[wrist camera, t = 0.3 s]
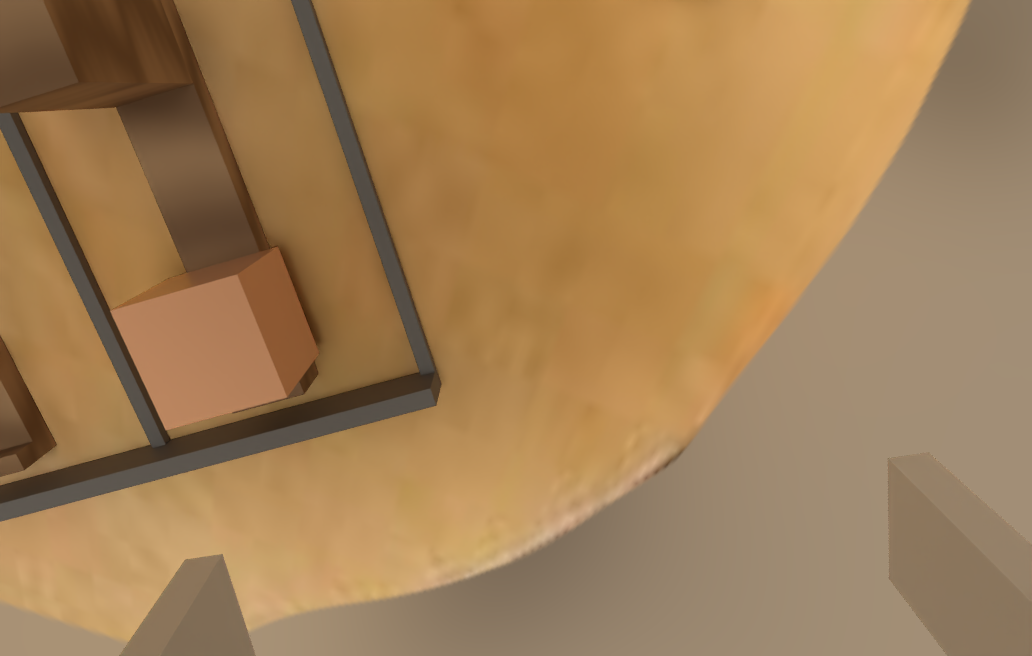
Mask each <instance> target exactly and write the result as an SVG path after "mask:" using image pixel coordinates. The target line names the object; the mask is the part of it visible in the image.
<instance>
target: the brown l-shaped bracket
mask: <svg viewBox="0 0 1032 656" xmlns="http://www.w3.org/2000/svg"><path fill="white" fill-rule="evenodd" d="M55 446H56V443H55V441H54V439H53V437H52V435H51V433H50V431H49V429H48V428H47V426H46V424H45V422H44V420H43V418H42V416H41V414H40V412H39V410H38V408H37V406H36V404H35V402H34V401H33V399H32V397H31V395H30V393H29V391H28V389H27V387H26V385H25V383H24V381H23V379H22V377H21V375H20V374H19V372H18V370H17V368H16V366H15V364H14V362H13V360H12V358H11V356H10V354H9V352H8V350H7V348H6V347H5V345H4V343H3V341H2V339H1V337H0V477H1V476H5V475H8V474H12V473H16V472H19V471H23V470H25V469H26V468H28V467H29V466H30V465H32V464H33V463H34V462H35V461H37V460H38V459H39V458H40V457H42V456H43V455H44V454H46V453H47V452H48V451H49V450H51V449H52V448H53V447H55Z"/></svg>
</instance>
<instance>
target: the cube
mask: <svg viewBox="0 0 1032 656" xmlns="http://www.w3.org/2000/svg"><path fill="white" fill-rule="evenodd" d="M110 312H111V314H112V316H113V318H114V321H115V323H116V325H117V327H118V329H119V331H120V333H121V336H122V338H123V340H124V342H125V344H126V346H127V348H128V351H129V353H130V355H131V357H132V359H133V361H134V363H135V366H136V368H137V370H138V372H139V374H140V376H141V378H142V381H143V383H144V385H145V387H146V389H147V391H148V393H149V396H150V398H151V400H152V402H153V404H154V406H155V408H156V411H157V413H158V415H159V417H160V419H161V421H162V423H163V426H164V428H165V430H169V429H173V428H176V427H180V426H184V425H187V424H191V423H195V422H198V421H202V420H206V419H210V418H213V417H217V416H221V415H224V414H228V413H232V412H235V411H239V410H243V409H246V408H250V407H254V406H257V405H261V404H265V403H268V402H272V401H276V400H280V399H283V398H287V397H288V396H289V394H290V393H291V392H292V390H293V389H294V387H295V386H296V385H297V383H298V382H299V381H300V379H301V378H302V376H303V375H304V374H305V372H306V371H307V370H308V368H309V367H310V365H311V364H312V363H313V361H314V360H315V359H316V357H317V356H318V354H319V351H318V349H317V346H316V344H315V341H314V338H313V336H312V333H311V331H310V328H309V325H308V323H307V320H306V318H305V315H304V312H303V310H302V307H301V305H300V302H299V300H298V297H297V294H296V292H295V289H294V287H293V284H292V281H291V279H290V276H289V274H288V271H287V268H286V266H285V263H284V261H283V258H282V255H281V253H280V250H279V248H278V247H275V248H271V249H268V250H264V251H261V252H257V253H254V254H250V255H247V256H244V257H240V258H237V259H233V260H230V261H226V262H223V263H219V264H216V265H212V266H209V267H205V268H202V269H199V270H195V271H192V272H188V273H185V274H181V275H178V276H174V277H171V278H168V279H166V280H165V281H163V282H161V283H159V284H157V285H156V286H154V287H152V288H150V289H148V290H147V291H145V292H143V293H141V294H139V295H138V296H136V297H134V298H132V299H130V300H129V301H127V302H125V303H123V304H121V305H120V306H118V307H116V308H114V309H112V310H111V311H110Z"/></svg>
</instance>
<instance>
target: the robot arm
mask: <svg viewBox="0 0 1032 656" xmlns="http://www.w3.org/2000/svg"><path fill="white" fill-rule="evenodd" d="M888 511H889V516H888V517H889V579H890V580H891V582H892V583H893V585H894V586H895V587H896V589H897V590H898V591H899V593H900V594H901V595H902V596H903V598H904V599H905V600H906V602H907V603H908V604H909V606H910V607H911V608H912V610H913V611H914V612H915V613H916V615H917V616H918V618H919V619H920V620H921V622H922V623H923V624H924V625H925V627H926V628H927V629H928V631H929V632H930V633H931V635H932V636H933V637H934V639H935V640H936V641H937V642H938V644H939V645H940V647H941V648H942V649H943V651H944V652H945V653H946V654H947V655H948V656H1032V544H1031V543H1030V542H1029V541H1027V540H1026V539H1025V538H1024V537H1023V536H1022V535H1021V534H1020V533H1018V532H1017V531H1016V530H1015V529H1014V528H1013V527H1012V526H1011V525H1009V524H1008V523H1007V522H1006V521H1005V520H1004V519H1003V518H1002V517H1000V516H999V515H998V514H997V513H996V512H995V511H994V510H993V509H991V508H990V507H989V506H988V505H987V504H986V503H985V502H983V501H982V500H981V499H980V498H979V497H978V496H977V495H976V494H974V493H973V492H972V491H971V490H970V489H969V488H968V487H967V486H966V485H964V484H963V483H962V482H961V481H960V480H959V479H958V478H957V477H955V476H954V475H953V474H952V473H951V472H950V471H949V470H948V469H946V468H945V467H944V466H943V465H942V464H941V463H940V462H939V461H937V460H936V459H935V458H934V457H933V456H932V455H931V454H930V453H920V454H913V455H907V456H900V457H893V458H888ZM119 656H255V652H254V649H253V646H252V643H251V640H250V637H249V634H248V631H247V628H246V625H245V622H244V618H243V615H242V612H241V609H240V606H239V603H238V600H237V597H236V594H235V591H234V588H233V585H232V582H231V579H230V576H229V573H228V570H227V567H226V564H225V561H224V557H223V554H221V555H214V556H207V557H200V558H193V559H186V560H185V561H184V562H183V564H182V565H181V567H180V568H179V569H178V571H177V572H176V574H175V575H174V577H173V578H172V580H171V581H170V583H169V584H168V585H167V587H166V588H165V590H164V591H163V593H162V594H161V596H160V597H159V599H158V600H157V602H156V603H155V604H154V606H153V607H152V609H151V610H150V612H149V613H148V615H147V616H146V618H145V619H144V620H143V622H142V623H141V625H140V626H139V628H138V629H137V631H136V632H135V634H134V635H133V636H132V638H131V639H130V641H129V642H128V644H127V645H126V647H125V648H124V650H123V651H122V653H121V654H120V655H119Z"/></svg>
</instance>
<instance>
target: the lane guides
mask: <svg viewBox="0 0 1032 656" xmlns="http://www.w3.org/2000/svg"><path fill="white" fill-rule="evenodd" d="M291 1H292V4H293V7H294V10H295V13H296V16H297V19H298V21H299V24H300V27H301V30H302V33H303V36H304V39H305V42H306V45H307V47H308V50H309V53H310V56H311V59H312V62H313V65H314V68H315V71H316V73H317V76H318V79H319V82H320V85H321V88H322V91H323V94H324V97H325V99H326V102H327V105H328V108H329V111H330V114H331V117H332V120H333V123H334V126H335V128H336V131H337V134H338V137H339V140H340V143H341V146H342V149H343V152H344V154H345V157H346V160H347V163H348V166H349V169H350V172H351V175H352V178H353V180H354V183H355V186H356V189H357V192H358V195H359V198H360V201H361V204H362V206H363V209H364V212H365V215H366V218H367V221H368V224H369V227H370V230H371V232H372V235H373V238H374V241H375V244H376V247H377V250H378V253H379V256H380V258H381V261H382V264H383V267H384V270H385V273H386V276H387V279H388V282H389V284H390V287H391V290H392V293H393V296H394V299H395V302H396V305H397V308H398V310H399V313H400V316H401V319H402V322H403V325H404V328H405V331H406V334H407V337H408V339H409V342H410V345H411V348H412V351H413V354H414V357H415V360H416V363H417V365H418V368H419V371H420V372H419V373H416V374H412V375H408V376H405V377H401V378H397V379H394V380H390V381H386V382H382V383H379V384H375V385H371V386H368V387H364V388H360V389H357V390H353V391H349V392H345V393H342V394H338V395H334V396H331V397H327V398H323V399H320V400H316V401H312V402H308V403H305V404H301V405H297V406H294V407H290V408H286V409H283V410H279V411H275V412H271V413H268V414H264V415H260V416H257V417H253V418H249V419H246V420H242V421H238V422H234V423H231V424H227V425H223V426H220V427H216V428H212V429H209V430H205V431H201V432H197V433H194V434H190V435H186V436H183V437H179V438H175V439H172V440H170V438H169V436H168V434H167V432H166V430H165V428H164V426H163V423H162V421H161V419H160V417H159V415H158V413H157V411H156V408H155V406H154V404H153V402H152V400H151V398H150V396H149V394H148V391H147V389H146V387H145V385H144V383H143V381H142V379H141V376H140V374H139V372H138V370H137V368H136V366H135V364H134V361H133V359H132V357H131V355H130V353H129V351H128V349H127V346H126V344H125V342H124V340H123V338H122V336H121V334H120V331H119V329H118V327H117V325H116V323H115V321H114V319H113V316H112V314H111V312H110V310H109V308H108V306H107V304H106V301H105V299H104V297H103V295H102V293H101V291H100V289H99V286H98V284H97V282H96V280H95V278H94V276H93V274H92V271H91V269H90V267H89V265H88V263H87V261H86V259H85V256H84V254H83V252H82V250H81V248H80V246H79V244H78V241H77V239H76V237H75V235H74V233H73V231H72V229H71V226H70V224H69V222H68V220H67V218H66V216H65V214H64V211H63V209H62V207H61V205H60V203H59V201H58V199H57V196H56V194H55V192H54V190H53V188H52V186H51V184H50V181H49V179H48V177H47V175H46V173H45V171H44V169H43V166H42V164H41V162H40V160H39V158H38V156H37V154H36V151H35V149H34V147H33V145H32V143H31V141H30V139H29V136H28V134H27V132H26V130H25V128H24V126H23V124H22V121H21V119H20V117H19V115H18V113H0V129H1V131H2V133H3V135H4V137H5V139H6V141H7V144H8V146H9V148H10V150H11V152H12V154H13V156H14V158H15V160H16V162H17V165H18V167H19V169H20V171H21V173H22V175H23V177H24V179H25V181H26V183H27V186H28V188H29V190H30V192H31V194H32V196H33V198H34V200H35V202H36V204H37V207H38V209H39V211H40V213H41V215H42V217H43V219H44V221H45V223H46V225H47V228H48V230H49V232H50V234H51V236H52V238H53V240H54V242H55V244H56V246H57V249H58V251H59V253H60V255H61V257H62V259H63V261H64V263H65V265H66V267H67V270H68V272H69V274H70V276H71V278H72V280H73V282H74V284H75V286H76V288H77V291H78V293H79V295H80V297H81V299H82V301H83V303H84V305H85V307H86V309H87V312H88V314H89V316H90V318H91V320H92V322H93V324H94V326H95V328H96V330H97V333H98V335H99V337H100V339H101V341H102V343H103V345H104V347H105V349H106V351H107V354H108V356H109V358H110V360H111V362H112V364H113V366H114V368H115V370H116V372H117V375H118V377H119V379H120V381H121V383H122V385H123V387H124V389H125V391H126V393H127V396H128V398H129V400H130V402H131V404H132V406H133V408H134V410H135V412H136V414H137V417H138V419H139V421H140V423H141V425H142V427H143V429H144V431H145V433H146V435H147V438H148V440H149V442H150V444H151V445H149V446H146V447H142V448H138V449H135V450H131V451H127V452H123V453H120V454H116V455H112V456H109V457H105V458H101V459H98V460H94V461H90V462H86V463H83V464H79V465H75V466H72V467H68V468H64V469H61V470H57V471H53V472H49V473H46V474H42V475H38V476H35V477H31V478H27V479H24V480H20V481H16V482H12V483H9V484H5V485H1V486H0V521H4V520H8V519H12V518H16V517H19V516H23V515H27V514H31V513H34V512H38V511H42V510H46V509H49V508H53V507H57V506H61V505H64V504H68V503H72V502H76V501H79V500H83V499H87V498H91V497H94V496H98V495H102V494H106V493H109V492H113V491H117V490H121V489H124V488H128V487H132V486H136V485H140V484H143V483H147V482H151V481H155V480H158V479H162V478H166V477H170V476H173V475H177V474H181V473H185V472H188V471H192V470H196V469H200V468H203V467H207V466H211V465H215V464H218V463H222V462H226V461H230V460H233V459H237V458H241V457H245V456H248V455H252V454H256V453H260V452H263V451H267V450H271V449H275V448H279V447H282V446H286V445H290V444H294V443H297V442H301V441H305V440H309V439H312V438H316V437H320V436H324V435H327V434H331V433H335V432H339V431H342V430H346V429H350V428H354V427H357V426H361V425H365V424H369V423H372V422H376V421H380V420H384V419H387V418H391V417H395V416H399V415H403V414H406V413H410V412H414V411H418V410H421V409H425V408H429V407H433V406H436V404H437V400H438V396H439V392H440V388H441V381H440V378H439V376H438V373H437V370H436V367H435V364H434V361H433V358H432V355H431V352H430V349H429V346H428V343H427V340H426V337H425V334H424V331H423V328H422V325H421V322H420V319H419V316H418V313H417V311H416V308H415V305H414V302H413V299H412V296H411V293H410V290H409V287H408V284H407V281H406V278H405V275H404V272H403V269H402V266H401V263H400V260H399V257H398V254H397V251H396V248H395V246H394V243H393V240H392V237H391V234H390V231H389V228H388V225H387V222H386V219H385V216H384V213H383V210H382V207H381V204H380V201H379V198H378V195H377V192H376V189H375V186H374V183H373V181H372V178H371V175H370V172H369V169H368V166H367V163H366V160H365V157H364V154H363V151H362V148H361V145H360V142H359V139H358V136H357V133H356V130H355V127H354V124H353V121H352V118H351V116H350V113H349V110H348V107H347V104H346V101H345V98H344V95H343V92H342V89H341V86H340V83H339V80H338V77H337V74H336V71H335V68H334V65H333V62H332V59H331V56H330V53H329V51H328V48H327V45H326V42H325V39H324V36H323V33H322V30H321V27H320V24H319V21H318V18H317V15H316V12H315V9H314V6H313V3H312V0H291Z"/></svg>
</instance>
